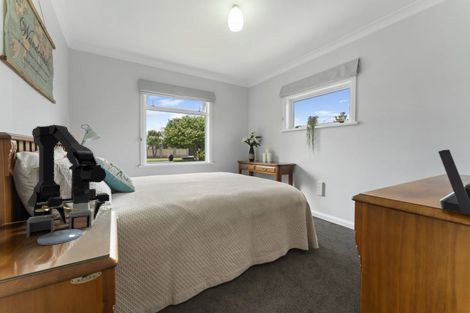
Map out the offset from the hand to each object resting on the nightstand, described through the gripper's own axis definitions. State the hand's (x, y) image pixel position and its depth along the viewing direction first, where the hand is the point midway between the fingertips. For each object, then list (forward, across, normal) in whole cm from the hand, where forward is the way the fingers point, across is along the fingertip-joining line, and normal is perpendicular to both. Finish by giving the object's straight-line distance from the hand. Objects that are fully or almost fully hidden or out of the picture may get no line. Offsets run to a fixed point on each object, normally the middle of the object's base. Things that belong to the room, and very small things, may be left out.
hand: (80, 221), depth 79 cm
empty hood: (+2, -11, 0) cm, 11 cm away
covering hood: (+2, 0, 0) cm, 2 cm away
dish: (+2, -6, -11) cm, 12 cm away
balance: (+2, -6, +9) cm, 11 cm away
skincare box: (+2, +1, +18) cm, 18 cm away
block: (+2, 0, 0) cm, 2 cm away
